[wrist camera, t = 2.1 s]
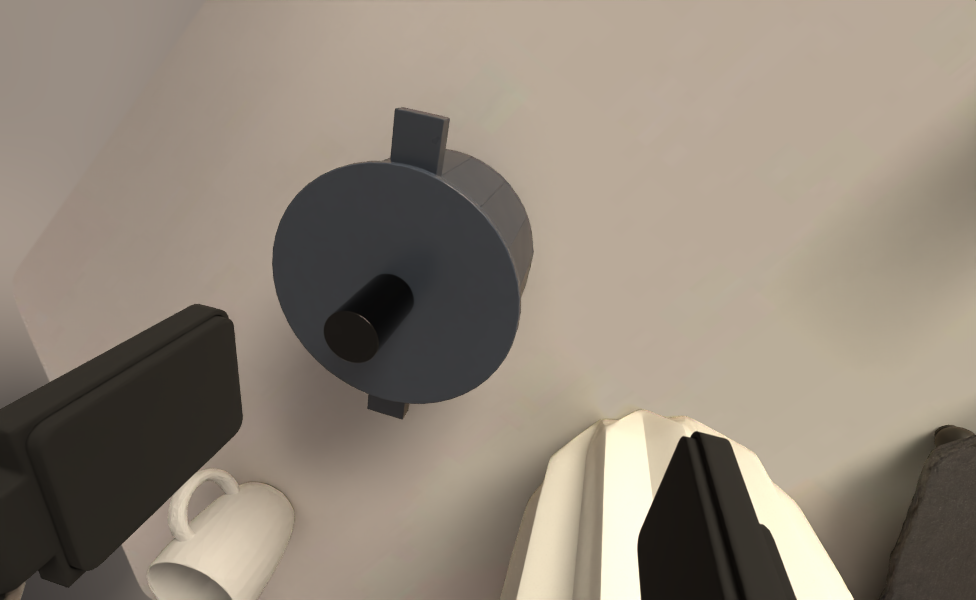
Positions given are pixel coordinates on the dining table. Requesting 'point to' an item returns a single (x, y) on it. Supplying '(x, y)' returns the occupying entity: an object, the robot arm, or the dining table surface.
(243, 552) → the mug
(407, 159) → the pot
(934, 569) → the serving tray
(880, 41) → the dining table surface
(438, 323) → the lid
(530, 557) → the vase
